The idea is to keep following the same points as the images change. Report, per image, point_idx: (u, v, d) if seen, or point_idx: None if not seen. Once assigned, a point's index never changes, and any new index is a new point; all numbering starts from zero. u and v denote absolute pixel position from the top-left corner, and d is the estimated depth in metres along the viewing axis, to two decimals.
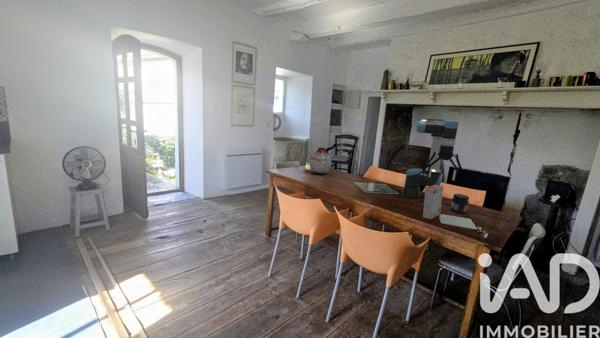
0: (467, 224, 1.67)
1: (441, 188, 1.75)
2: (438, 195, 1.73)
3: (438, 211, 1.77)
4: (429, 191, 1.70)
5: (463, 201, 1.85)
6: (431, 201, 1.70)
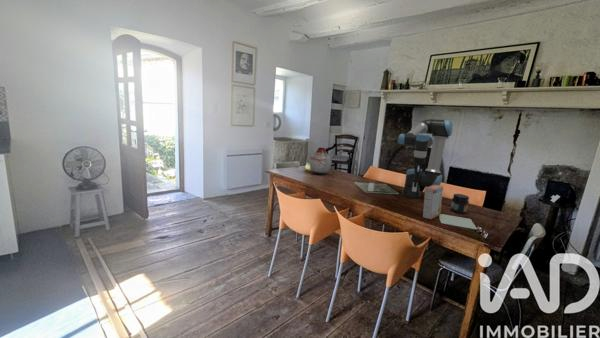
0: (467, 224, 1.67)
1: (441, 188, 1.75)
2: (438, 195, 1.73)
3: (438, 211, 1.77)
4: (428, 191, 1.70)
5: (463, 201, 1.85)
6: (431, 201, 1.70)
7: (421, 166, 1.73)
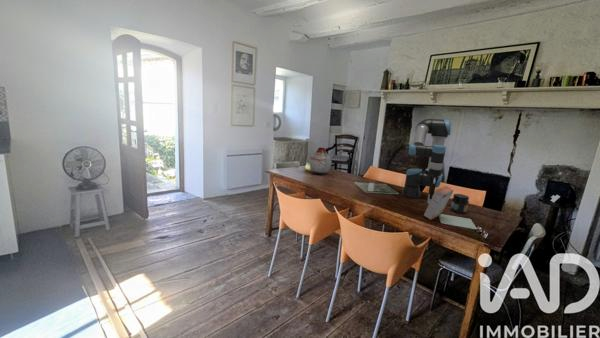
0: (467, 224, 1.67)
1: (451, 192, 1.69)
2: (446, 198, 1.69)
3: (440, 212, 1.76)
4: (438, 194, 1.65)
5: (463, 201, 1.85)
6: (437, 204, 1.66)
7: (437, 178, 1.71)
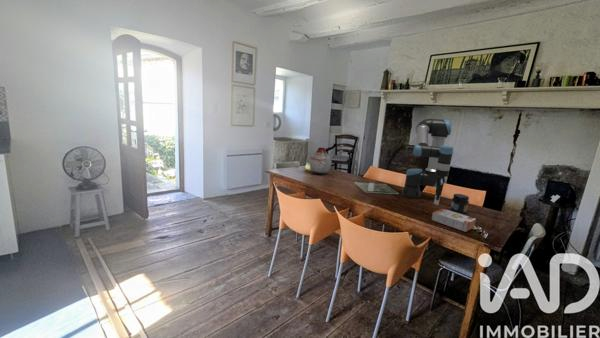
0: None
1: None
2: None
3: None
4: (462, 226, 1.56)
5: (463, 201, 1.85)
6: (451, 225, 1.61)
7: (444, 179, 1.69)
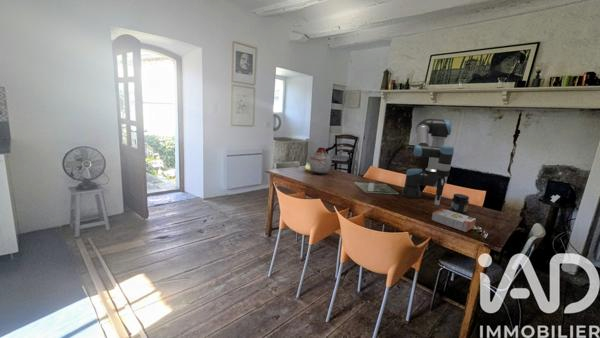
0: None
1: None
2: None
3: None
4: (462, 226, 1.56)
5: (463, 201, 1.85)
6: (451, 226, 1.61)
7: None
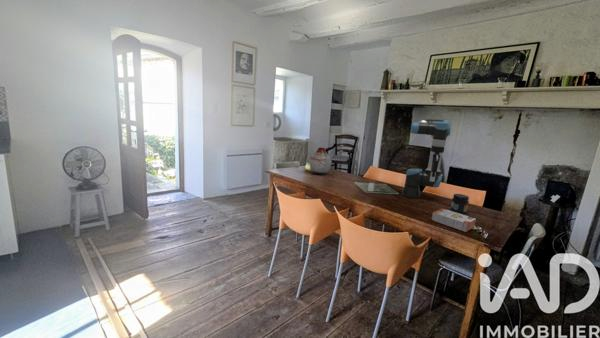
0: None
1: None
2: None
3: None
4: (462, 226, 1.56)
5: (463, 201, 1.85)
6: (451, 226, 1.61)
7: (440, 155, 1.68)
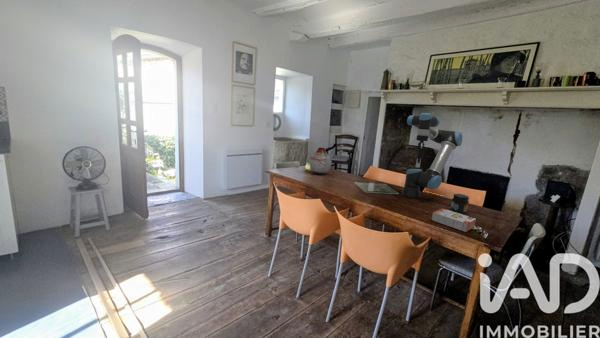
0: None
1: None
2: None
3: None
4: (462, 226, 1.56)
5: (463, 201, 1.85)
6: (451, 226, 1.61)
7: None
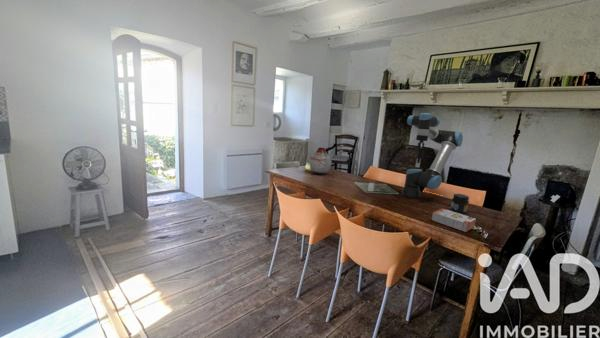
0: None
1: None
2: None
3: None
4: (462, 226, 1.56)
5: (463, 201, 1.85)
6: (451, 226, 1.61)
7: None
